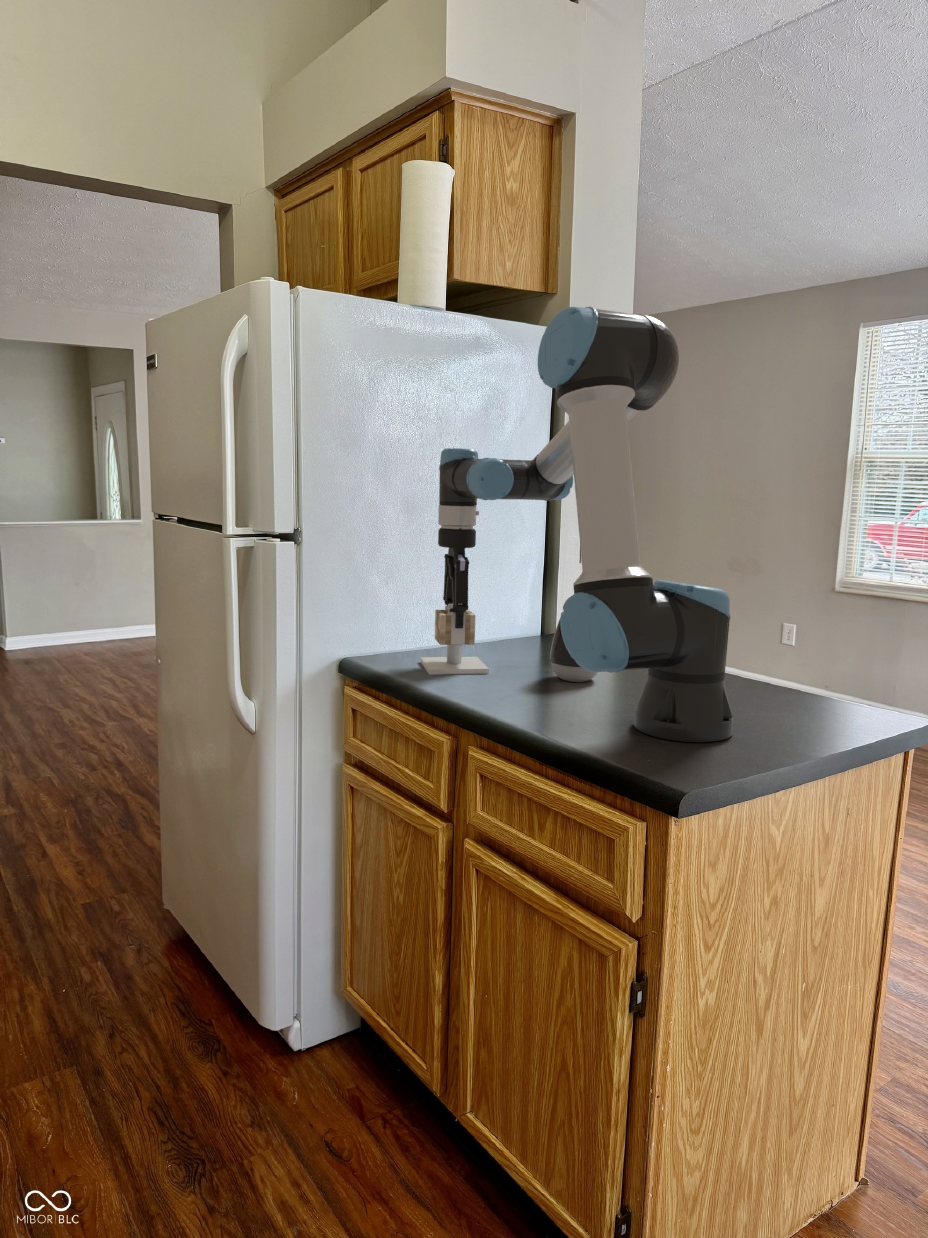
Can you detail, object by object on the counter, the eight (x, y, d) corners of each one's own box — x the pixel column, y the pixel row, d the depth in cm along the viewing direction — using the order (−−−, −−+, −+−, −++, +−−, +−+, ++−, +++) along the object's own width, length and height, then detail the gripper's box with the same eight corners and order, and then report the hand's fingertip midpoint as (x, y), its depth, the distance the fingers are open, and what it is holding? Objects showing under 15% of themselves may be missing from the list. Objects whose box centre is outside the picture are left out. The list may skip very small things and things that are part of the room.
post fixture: (488, 673, 175) (490, 609, 173) (429, 674, 173) (430, 609, 171) (476, 661, 187) (478, 600, 185) (420, 662, 185) (421, 600, 183)
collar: (474, 644, 177) (475, 615, 176) (440, 644, 175) (440, 615, 174) (467, 638, 183) (468, 609, 182) (434, 638, 182) (435, 609, 181)
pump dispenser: (599, 674, 177) (603, 599, 175) (602, 686, 167) (607, 607, 165) (549, 672, 178) (552, 597, 176) (548, 683, 168) (552, 604, 166)
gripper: (486, 530, 167) (482, 649, 170) (466, 524, 186) (463, 631, 190) (447, 530, 165) (444, 650, 169) (431, 523, 185) (428, 631, 188)
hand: (454, 640), depth 179 cm, fingers closed on collar, 7 cm apart
